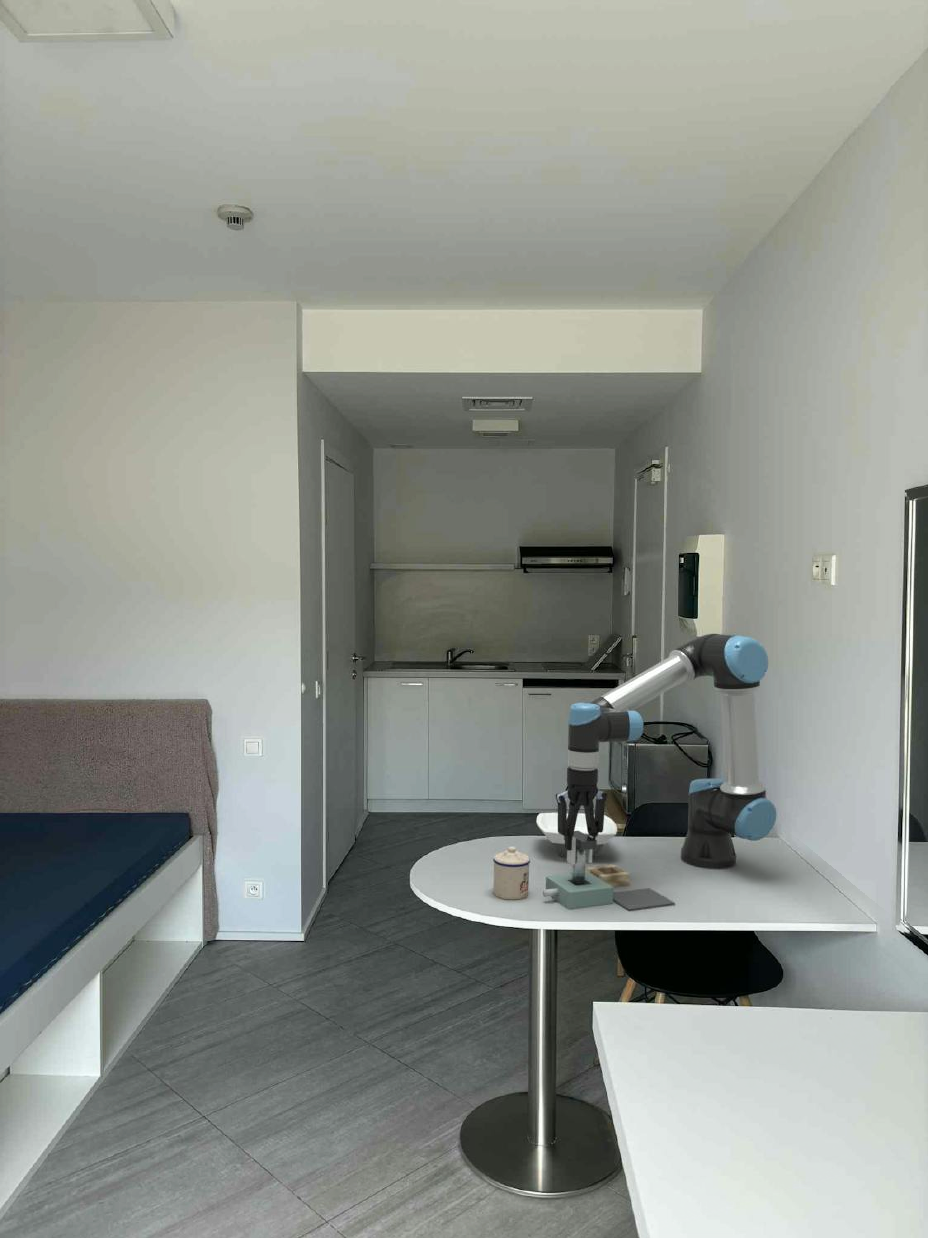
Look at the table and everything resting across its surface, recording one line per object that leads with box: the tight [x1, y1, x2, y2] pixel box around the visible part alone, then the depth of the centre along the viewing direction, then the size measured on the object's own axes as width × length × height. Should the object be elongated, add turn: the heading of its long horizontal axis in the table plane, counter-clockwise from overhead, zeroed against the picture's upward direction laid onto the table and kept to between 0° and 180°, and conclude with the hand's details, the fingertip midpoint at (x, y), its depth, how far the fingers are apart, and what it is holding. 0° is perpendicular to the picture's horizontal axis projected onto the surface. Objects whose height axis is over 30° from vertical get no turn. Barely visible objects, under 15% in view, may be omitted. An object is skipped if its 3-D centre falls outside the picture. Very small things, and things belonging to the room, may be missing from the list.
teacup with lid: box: [492, 846, 531, 901], centre depth 220 cm, size 12×9×12 cm
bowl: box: [536, 812, 618, 858], centre depth 255 cm, size 22×23×8 cm
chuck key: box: [564, 831, 597, 885], centre depth 217 cm, size 4×9×12 cm, turn 22°
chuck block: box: [542, 871, 614, 910], centre depth 217 cm, size 16×12×4 cm
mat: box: [613, 887, 676, 912], centre depth 217 cm, size 13×11×1 cm
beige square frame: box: [586, 864, 631, 888], centre depth 230 cm, size 8×8×3 cm
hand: (579, 862), depth 217 cm, fingers closed on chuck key, 4 cm apart
